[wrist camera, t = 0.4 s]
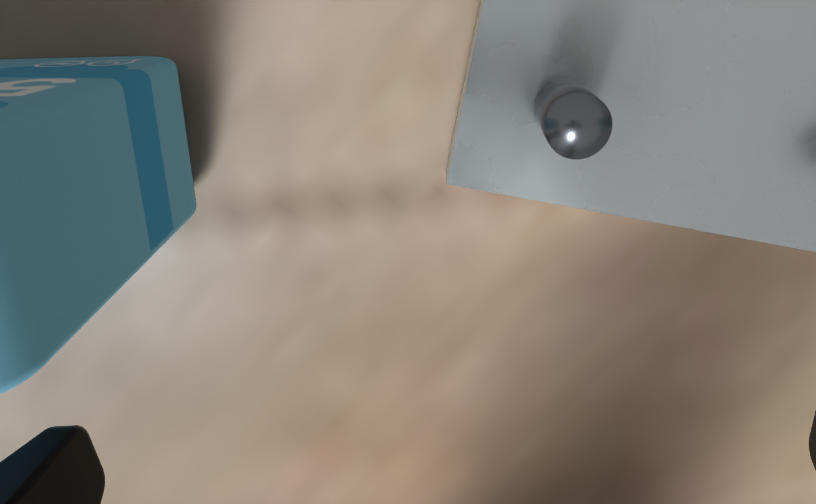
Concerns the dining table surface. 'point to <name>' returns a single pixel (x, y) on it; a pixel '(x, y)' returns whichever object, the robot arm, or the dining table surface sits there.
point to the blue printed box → (82, 191)
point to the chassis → (647, 111)
